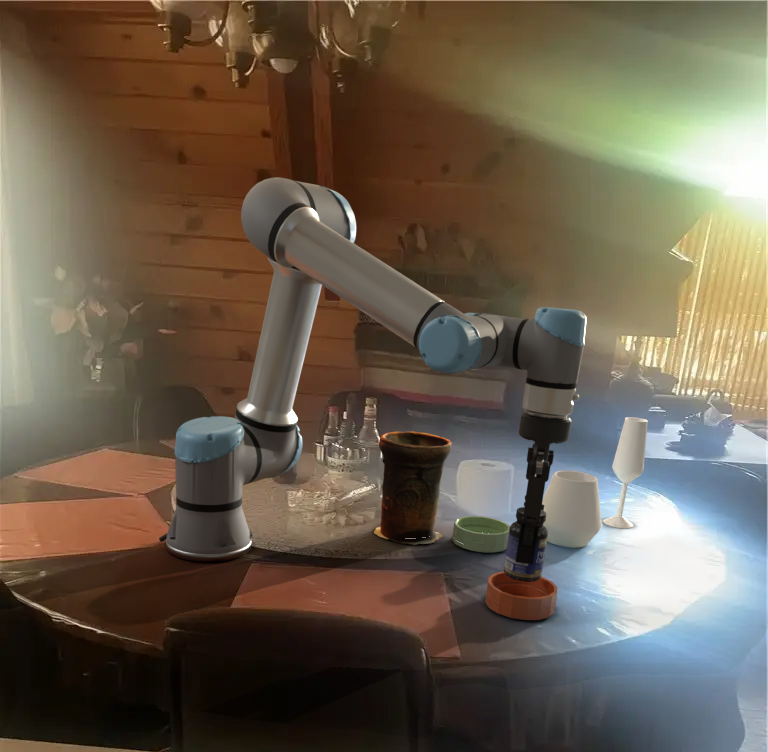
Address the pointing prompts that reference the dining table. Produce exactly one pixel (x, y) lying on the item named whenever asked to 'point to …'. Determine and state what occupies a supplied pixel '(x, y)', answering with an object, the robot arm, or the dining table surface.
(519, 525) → the pill bottle
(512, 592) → the front bowl
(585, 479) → the cup
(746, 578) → the dining table surface
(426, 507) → the vessel
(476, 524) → the back bowl
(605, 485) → the dining table surface
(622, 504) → the champagne flute
